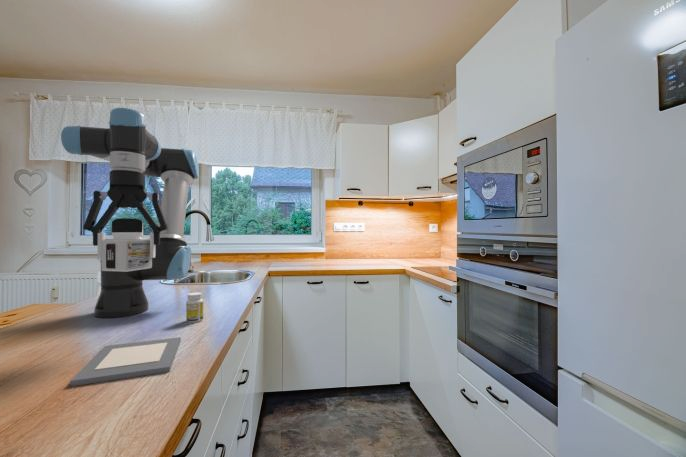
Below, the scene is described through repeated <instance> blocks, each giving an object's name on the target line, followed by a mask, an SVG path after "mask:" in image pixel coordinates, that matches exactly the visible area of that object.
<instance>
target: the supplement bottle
mask: <svg viewBox="0 0 686 457" xmlns="http://www.w3.org/2000/svg"><path fill="white" fill-rule="evenodd" d="M185 304H186V306H185V307H186V311H185V312H186V316H185V317H186V322H187V323H193V324H194V323H198V322H202V321H203V320H204V299H203V294H202V292H200V291H199V292H190V293H187V299H186V303H185Z"/></svg>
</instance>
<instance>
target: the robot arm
mask: <svg viewBox="0 0 686 457" xmlns="http://www.w3.org/2000/svg"><path fill="white" fill-rule="evenodd" d="M109 113H110V115H109V121H108V125H109V128H105V127H91V126H81V125H67V126H65V127H63V129H62V130H61V133H60V141H61V144H62V147H63V148H64V149H63V150H65V151H66V152H67V153H68V154H71V155H79V156H83V155H85V156H92V157H94V158H99V159H101V160H104V161H108V162H109V168H110V171H109V188H108V190H107V191H99V190H94V191H93V193H92V194H93V201H92V204H91V206H90V208H89V210H88V214H87V216H86V219H85V222H84V224H83V226H82V227H83V230H85V231H87V232H91V233H92V244H93V246H94V247H95V246H97V260H99V262H100V263H101V254H102V240H104V239H106V232H103V230H104V229H105V227H106V226H107V224H108V223H109V222H110V220H111V219H112V217H113V216H114V215H115V213H116V212H117V211H118V210H119V209H127V208H131V209H137V210H138V211H139V212H140V214H141V215H142V217H143V218H144V220H145V221H146V223H147V224H148V225H149V227H150V229H151V230H152V232H149V239H150V258H152V268H149V269H142V270H135V271H128V272H121V271H102V270H101V269H100V293H99V295H98V299H97V301H96V304H95V306H94V314H93V316H94V317H95V318H100V319H101V318H103V319H104V318H108V319H109V318H121V317H127V316H133V315H137V314H140V313H144V312H146V311H148V310H149V301H148V298H147V296H146V293H145V291H144V288H143V287H144V286H143V282H144V281H163V280H164V281H166V280H168V281H172V280H179V279H180V280H181V279H183V278H185V277H186V275H187V274H188V272H189V269H190V266H191V261H192V250H191V247H190V246H188V242H187V241H186V240H185V239H184V234H185V232H184V231H185V225H186V224H185V223H186V214H187V206H188V205H187V204H188V198H189V197H188V196H189V187H190V186H191V185H193V184H194V179H195V180H197V179H199V178H200V172H199V164H198V158H197V155H196V152H195V151H194V150H192V149H185V148H181V149H179V148H166V147H162V146H161V143H160V141H159V140H158V138H156V136H154V135H153V134H151V133H150V132H149V131H148V130H147V129H146V127H147V123H146V116H145V115H144V114H143V112H141V111H138V110H136V109H132V108H127V107H115V108H113V109H111V111H110V112H109ZM146 176H147V177H152V178H160V179H161V181H162V182H163V189H162V190H163V191H162V197H161V203H160V195H159V193H156V192H153V193H152V192H150V193H149V192H147V190H146ZM107 197H108V198H109V199H110V200H111V202H110V204H109V205H108V207H107V209H106V210H105V211H104V213H103V214H102V216H101V217H100V218H99V219H98V216H99V214H100V211H101V209H102V206H103V203H104V201H105V200H106V199H107ZM147 198H148V200H149V201H150V202H151V203H152V206H153V209H154V212H155V214H156V218H157V220H158V224H157V222H156V221H155V219H154V218H153V217H152V215H151V214H150V212H149V210H147V207H146V206H145V205H144V201H146V199H147ZM97 220H98V221H97ZM96 221H97V222H96Z"/></svg>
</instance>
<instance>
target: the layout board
mask: <svg viewBox="0 0 686 457" xmlns="http://www.w3.org/2000/svg"><path fill="white" fill-rule="evenodd" d="M180 343H181V336H180V337H171V338H162V339H154V340H146V341H145V340H144V341H137V342H129V343H120V344H111V345H104V346H103V347H102V348H101V349H100V350H99V351H98V352H97V353H96V355H94V356H93V357H92V358H91V360H89V362H87V364H86V365H84V367H82V369H80V371H79V372H78V373H77V374H76V375H75V376H74V377H73V378H71V380H70V387H76V386H81V385H88V384H95V383H101V382H110V381H114V380H122V379H128V378H135V377H142V376H149V375H154V374H156V375H157V374H163V373H168V372H171V369H172V366H173V363H174V360H175V358H176V355H177V352H178V350H179V347H180V345H181V344H180Z"/></svg>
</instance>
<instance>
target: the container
mask: <svg viewBox="0 0 686 457" xmlns="http://www.w3.org/2000/svg"><path fill="white" fill-rule="evenodd" d="M111 236H113V238H105V239H104V240H102V254H101V259H100V260H101V262H100V271H101V270H102V271H121V272H128V271H135V270H142V269H149V268H152V258H150V238H148V237H147V238H142V236H144V222H143V220H141V219H138V218H129V217H128V218H127V217H126V218H124V217H123V218H115V219H112V221H111Z"/></svg>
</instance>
